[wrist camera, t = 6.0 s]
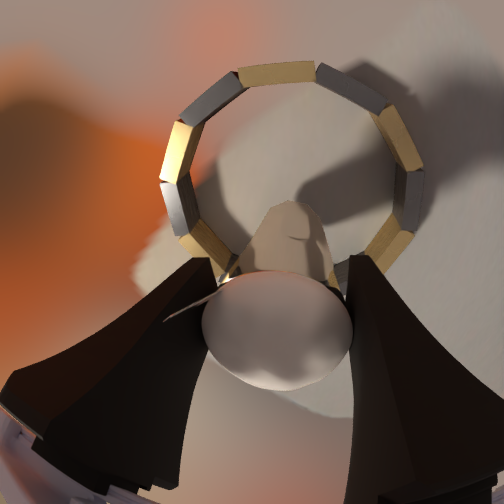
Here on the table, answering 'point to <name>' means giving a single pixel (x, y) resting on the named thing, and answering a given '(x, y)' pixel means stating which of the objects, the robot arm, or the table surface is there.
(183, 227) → the ring
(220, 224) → the table surface
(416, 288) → the table surface
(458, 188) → the table surface
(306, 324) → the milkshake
